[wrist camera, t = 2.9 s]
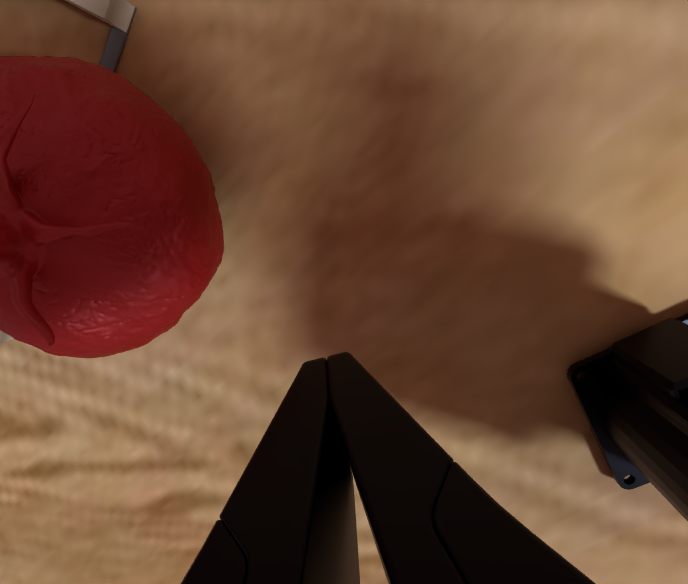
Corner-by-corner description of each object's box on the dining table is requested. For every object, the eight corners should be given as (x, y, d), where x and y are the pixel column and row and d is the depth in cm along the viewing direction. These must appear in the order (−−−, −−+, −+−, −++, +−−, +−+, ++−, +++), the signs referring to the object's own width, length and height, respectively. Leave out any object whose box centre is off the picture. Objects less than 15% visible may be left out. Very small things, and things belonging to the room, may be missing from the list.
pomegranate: (170, 40, 17) (-40, -116, 8) (282, 271, 19) (210, 346, 10) (-33, 151, 19) (-402, 118, 10) (91, 356, 21) (-120, 489, 12)
